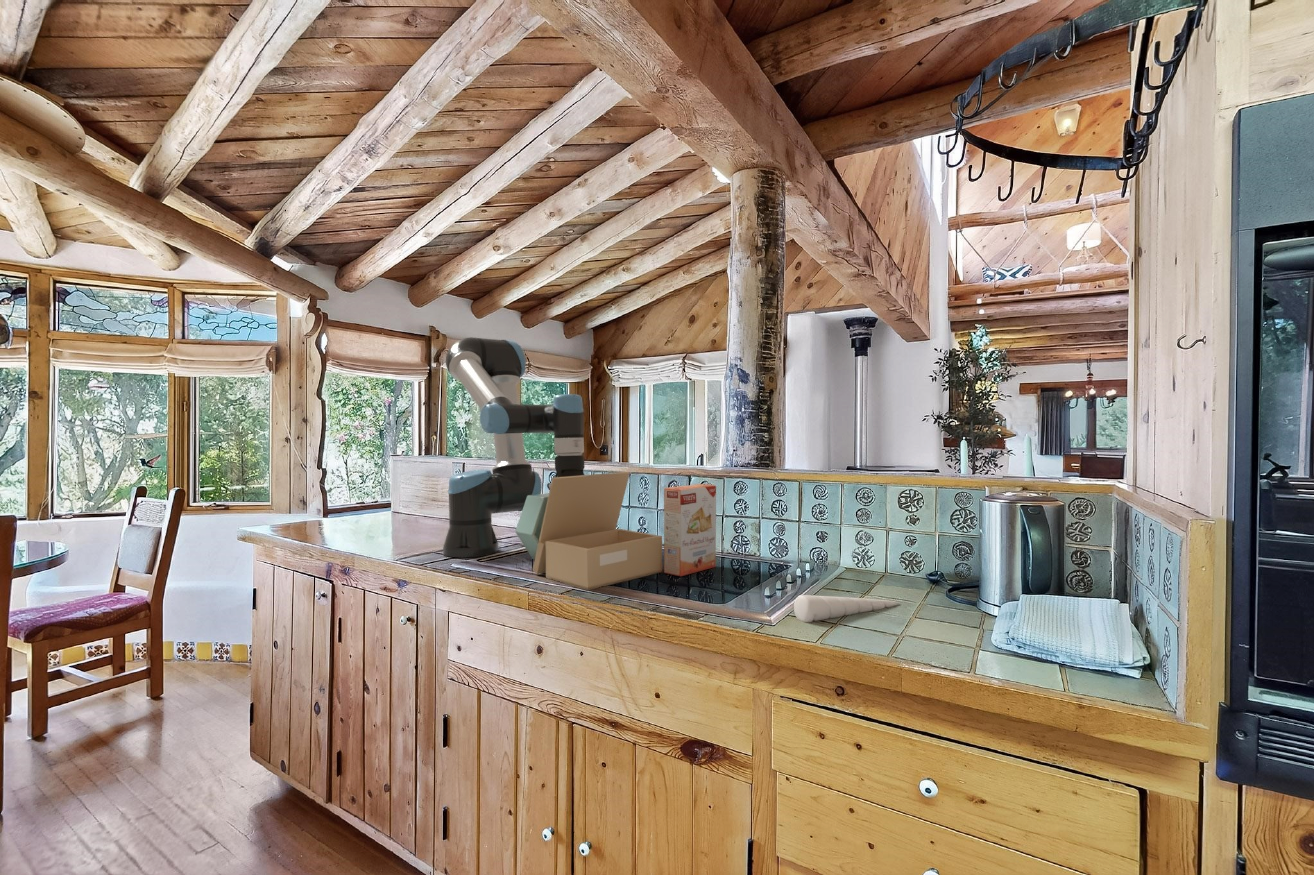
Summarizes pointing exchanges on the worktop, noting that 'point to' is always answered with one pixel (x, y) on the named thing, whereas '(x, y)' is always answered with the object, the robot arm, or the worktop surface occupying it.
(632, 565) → the mailer
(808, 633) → the worktop surface
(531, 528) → the planter
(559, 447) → the robot arm
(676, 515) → the cracker box
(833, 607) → the unicorn horn
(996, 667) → the worktop surface
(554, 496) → the lid
